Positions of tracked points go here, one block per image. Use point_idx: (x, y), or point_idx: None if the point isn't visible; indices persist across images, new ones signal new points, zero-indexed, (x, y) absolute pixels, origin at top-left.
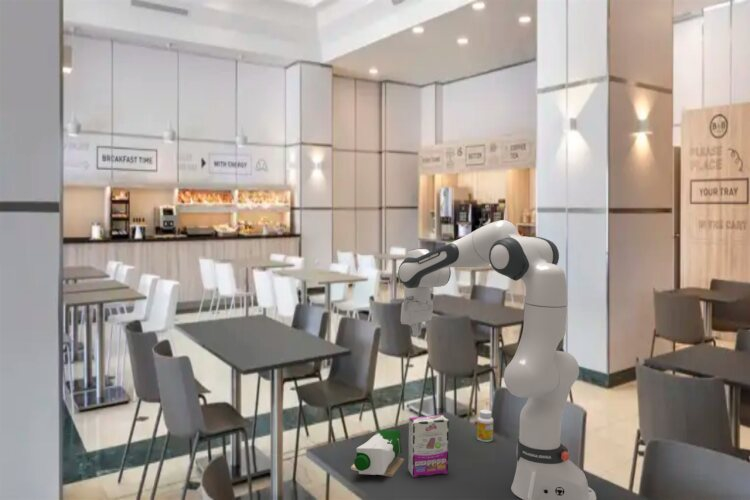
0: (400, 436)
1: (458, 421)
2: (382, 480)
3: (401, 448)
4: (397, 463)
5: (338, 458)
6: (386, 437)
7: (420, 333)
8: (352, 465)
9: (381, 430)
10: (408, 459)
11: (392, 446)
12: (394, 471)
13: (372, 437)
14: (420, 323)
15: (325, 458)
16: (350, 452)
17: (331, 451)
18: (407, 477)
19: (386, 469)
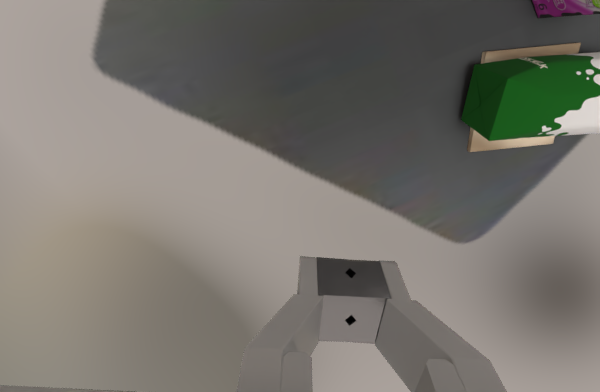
0: (499, 73)
1: (126, 3)
2: None
3: (485, 65)
4: (518, 55)
5: (496, 187)
6: (586, 88)
7: (301, 265)
8: (543, 144)
9: (501, 131)
10: (562, 15)
11: (594, 60)
12: (564, 44)
13: (583, 124)
14: (309, 388)
15: (501, 207)
16: (461, 180)
17: (465, 213)
18: None
19: None
